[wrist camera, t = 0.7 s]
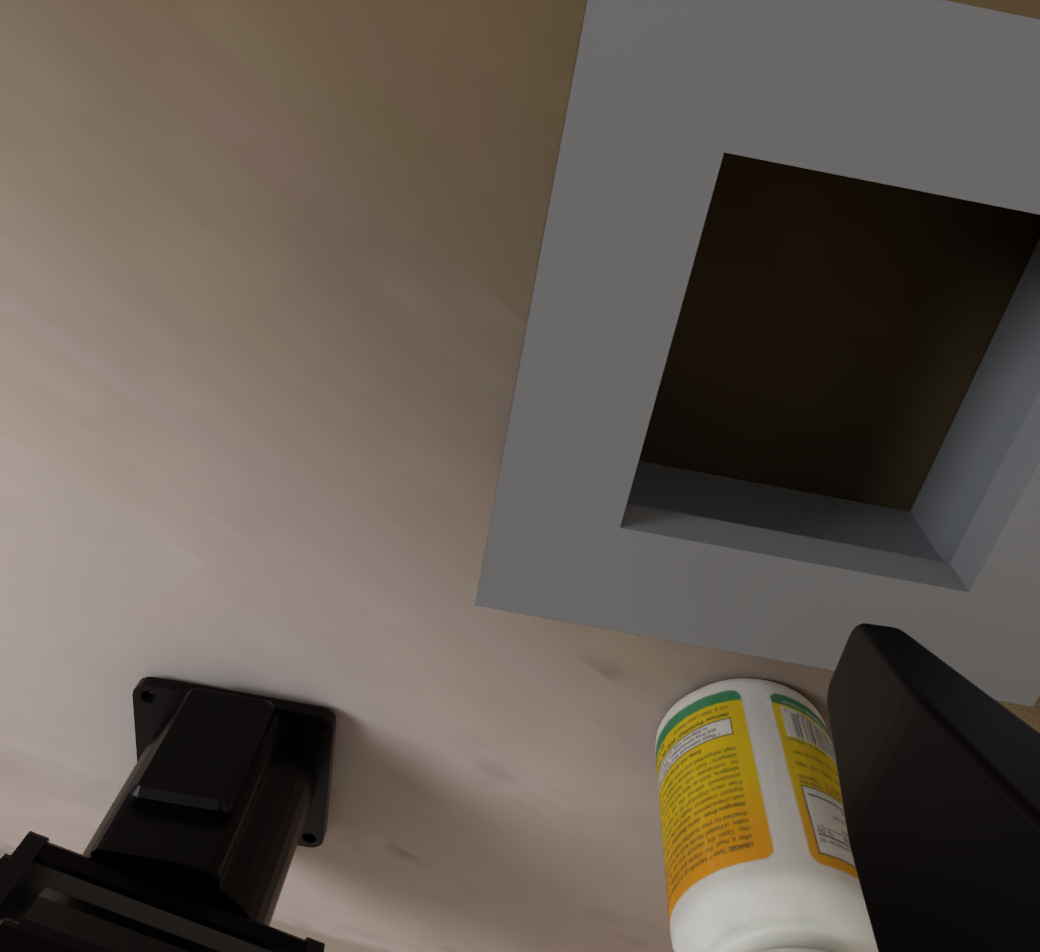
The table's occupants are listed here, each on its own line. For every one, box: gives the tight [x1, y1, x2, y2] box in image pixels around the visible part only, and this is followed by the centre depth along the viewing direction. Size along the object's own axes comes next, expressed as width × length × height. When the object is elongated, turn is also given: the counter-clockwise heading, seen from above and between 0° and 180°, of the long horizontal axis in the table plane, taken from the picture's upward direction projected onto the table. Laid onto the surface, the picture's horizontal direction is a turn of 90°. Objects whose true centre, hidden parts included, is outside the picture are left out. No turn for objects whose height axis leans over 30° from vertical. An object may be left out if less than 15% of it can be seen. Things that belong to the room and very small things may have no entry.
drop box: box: [475, 0, 1040, 707], centre depth 17 cm, size 12×12×6 cm
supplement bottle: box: [655, 678, 878, 952], centre depth 23 cm, size 5×5×10 cm
